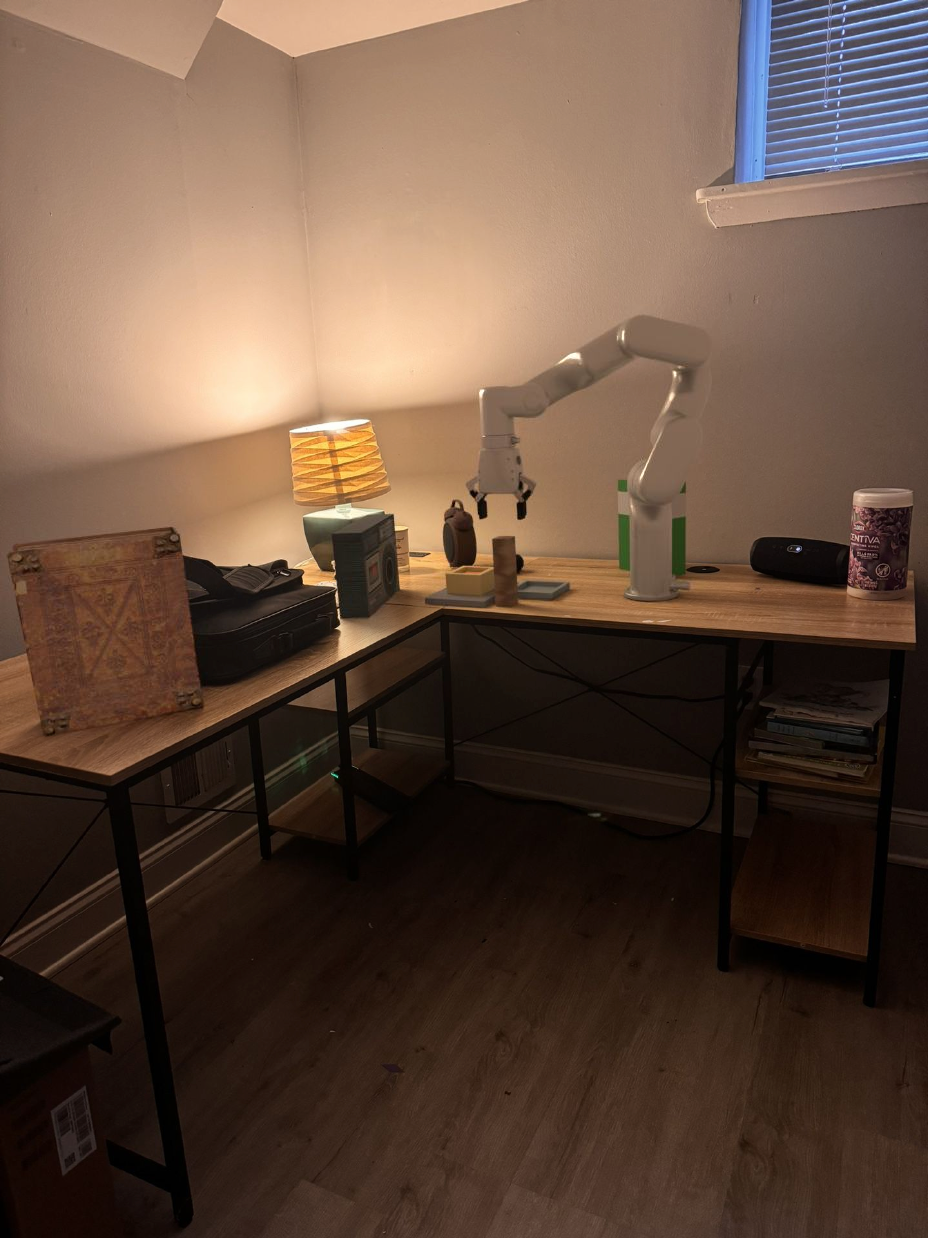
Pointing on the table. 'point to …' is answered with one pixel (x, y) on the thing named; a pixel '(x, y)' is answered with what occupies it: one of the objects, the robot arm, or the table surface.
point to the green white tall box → (677, 530)
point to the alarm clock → (459, 536)
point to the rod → (505, 571)
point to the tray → (541, 589)
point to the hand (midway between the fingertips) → (502, 518)
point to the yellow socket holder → (466, 588)
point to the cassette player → (365, 565)
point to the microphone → (519, 563)
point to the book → (106, 628)
